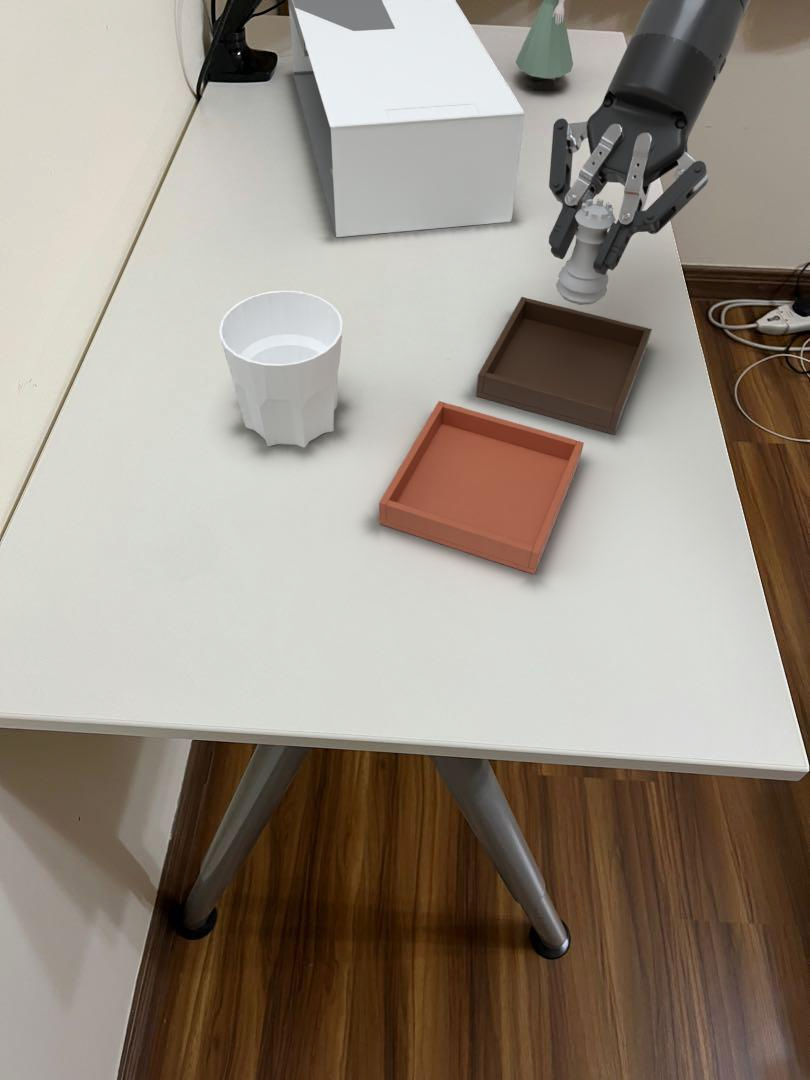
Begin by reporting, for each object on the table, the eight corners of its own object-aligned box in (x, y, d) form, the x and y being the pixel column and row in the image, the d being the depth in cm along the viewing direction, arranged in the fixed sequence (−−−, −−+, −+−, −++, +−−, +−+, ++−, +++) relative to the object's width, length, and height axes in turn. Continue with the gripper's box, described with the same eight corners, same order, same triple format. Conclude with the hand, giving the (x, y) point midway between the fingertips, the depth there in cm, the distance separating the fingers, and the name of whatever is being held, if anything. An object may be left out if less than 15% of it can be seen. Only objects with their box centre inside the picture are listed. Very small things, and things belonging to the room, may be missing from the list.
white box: (291, 72, 124) (284, -26, 114) (431, 64, 127) (435, -33, 117) (334, 238, 96) (329, 126, 86) (512, 222, 99) (526, 112, 89)
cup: (301, 367, 81) (292, 276, 74) (369, 420, 77) (367, 329, 69) (214, 413, 77) (195, 322, 69) (281, 472, 72) (268, 382, 65)
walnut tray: (645, 350, 84) (651, 328, 82) (614, 435, 76) (620, 413, 74) (518, 318, 87) (521, 296, 85) (475, 396, 79) (478, 374, 77)
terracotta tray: (578, 463, 74) (584, 442, 72) (534, 574, 66) (539, 554, 64) (437, 422, 77) (438, 400, 75) (379, 524, 69) (378, 502, 67)
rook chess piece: (567, 271, 76) (583, 187, 70) (613, 287, 75) (633, 202, 69) (546, 296, 74) (560, 211, 68) (594, 313, 73) (612, 227, 66)
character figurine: (510, 57, 129) (525, -85, 115) (565, 59, 129) (586, -84, 115) (515, 103, 119) (532, -47, 105) (574, 105, 119) (598, -45, 105)
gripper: (585, 10, 66) (491, 221, 69) (759, 54, 61) (650, 279, 64) (602, 60, 73) (515, 250, 76) (760, 103, 68) (661, 304, 71)
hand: (577, 262), depth 70 cm, fingers closed on rook chess piece, 3 cm apart
